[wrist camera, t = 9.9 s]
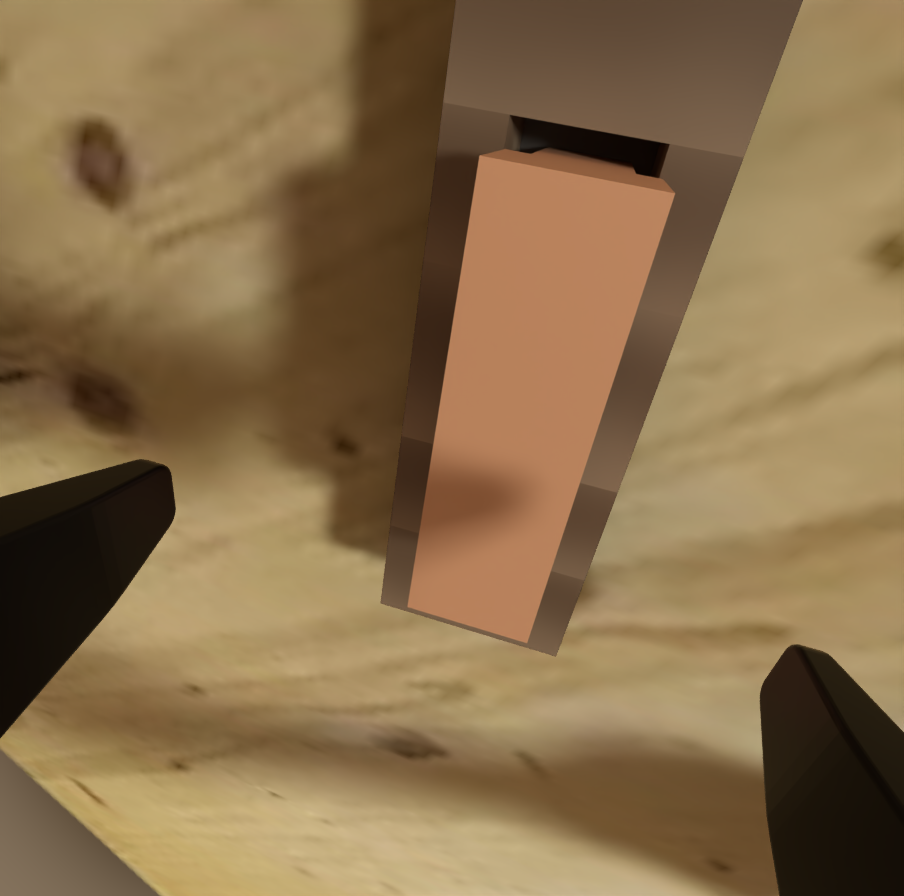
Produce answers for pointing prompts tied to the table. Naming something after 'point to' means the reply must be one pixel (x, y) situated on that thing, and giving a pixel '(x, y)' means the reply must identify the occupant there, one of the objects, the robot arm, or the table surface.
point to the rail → (599, 134)
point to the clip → (529, 374)
